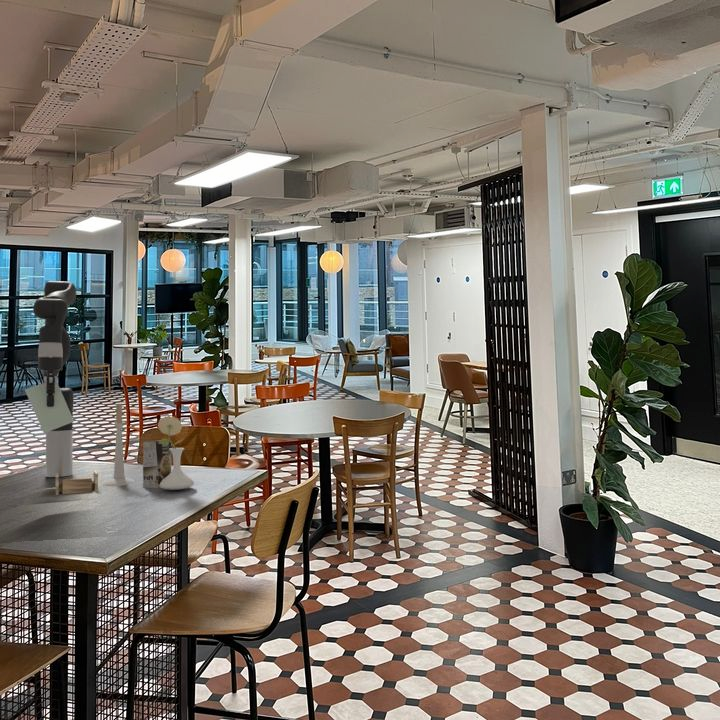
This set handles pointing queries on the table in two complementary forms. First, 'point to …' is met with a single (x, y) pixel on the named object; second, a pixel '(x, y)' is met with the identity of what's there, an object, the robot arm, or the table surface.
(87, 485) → the block
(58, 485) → the offcut rack
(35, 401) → the tall sheet
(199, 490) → the table surface
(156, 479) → the coffee box
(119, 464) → the candlestick
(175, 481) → the flower in vase
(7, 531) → the table surface
